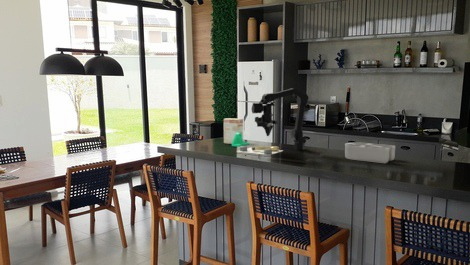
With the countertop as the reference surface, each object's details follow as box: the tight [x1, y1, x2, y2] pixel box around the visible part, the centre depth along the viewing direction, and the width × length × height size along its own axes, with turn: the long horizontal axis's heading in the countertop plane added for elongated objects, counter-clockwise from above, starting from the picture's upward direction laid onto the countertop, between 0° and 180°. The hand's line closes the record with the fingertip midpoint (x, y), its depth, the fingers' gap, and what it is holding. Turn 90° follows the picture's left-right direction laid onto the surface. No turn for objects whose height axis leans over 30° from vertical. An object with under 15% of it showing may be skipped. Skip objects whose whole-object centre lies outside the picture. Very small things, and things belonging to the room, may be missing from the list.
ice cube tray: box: [344, 142, 396, 164], centre depth 249 cm, size 17×28×9 cm, turn 51°
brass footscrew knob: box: [251, 145, 280, 151], centre depth 271 cm, size 18×6×3 cm, turn 97°
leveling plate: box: [235, 145, 283, 158], centre depth 272 cm, size 26×19×4 cm
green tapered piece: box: [231, 133, 250, 148], centre depth 301 cm, size 12×8×10 cm, turn 138°
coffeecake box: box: [223, 117, 244, 145], centre depth 316 cm, size 15×7×20 cm, turn 46°
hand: (267, 136), depth 270 cm, fingers closed
